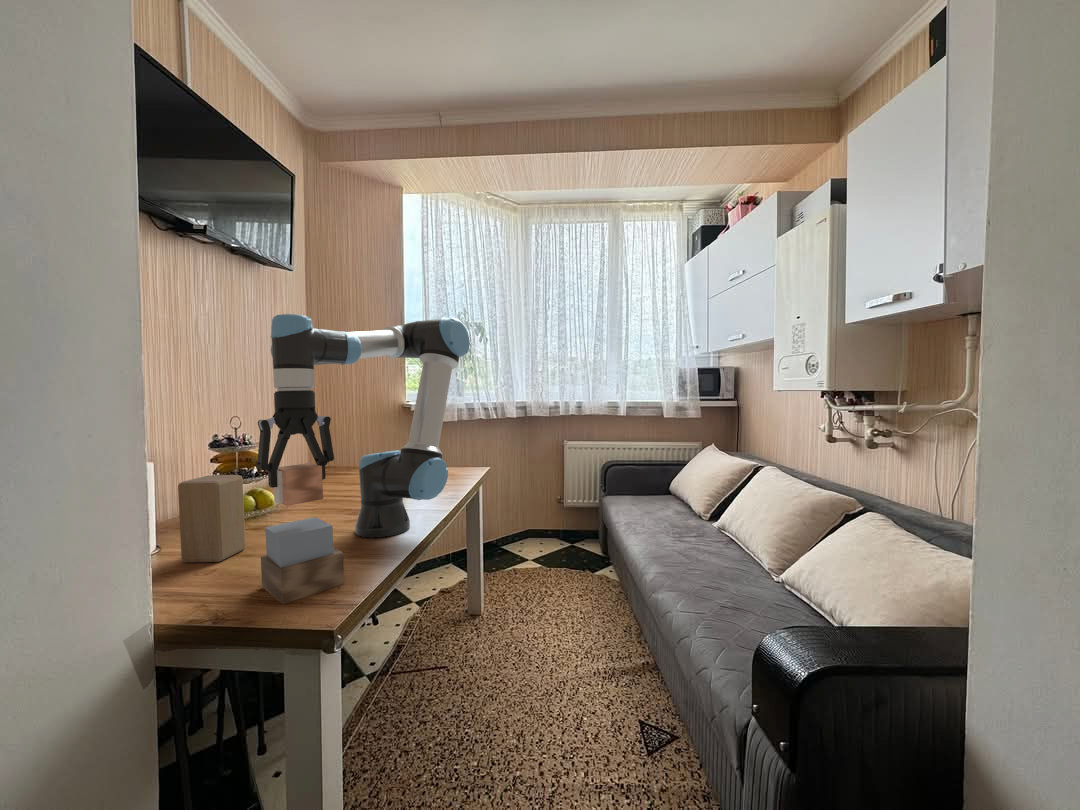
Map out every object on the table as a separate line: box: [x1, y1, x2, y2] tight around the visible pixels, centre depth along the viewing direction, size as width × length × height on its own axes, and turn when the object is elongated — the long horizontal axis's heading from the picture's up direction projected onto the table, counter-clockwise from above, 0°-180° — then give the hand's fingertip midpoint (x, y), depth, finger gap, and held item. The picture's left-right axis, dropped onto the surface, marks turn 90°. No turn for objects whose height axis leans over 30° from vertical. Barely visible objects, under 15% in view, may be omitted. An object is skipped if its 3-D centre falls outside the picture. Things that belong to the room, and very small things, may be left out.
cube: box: [278, 463, 324, 507], centre depth 95 cm, size 7×7×7 cm
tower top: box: [264, 516, 334, 568], centre depth 95 cm, size 10×10×6 cm
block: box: [177, 474, 246, 563], centre depth 115 cm, size 10×10×20 cm
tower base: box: [260, 547, 345, 605], centre depth 96 cm, size 12×12×7 cm
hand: (298, 498), depth 95 cm, fingers closed on cube, 7 cm apart
